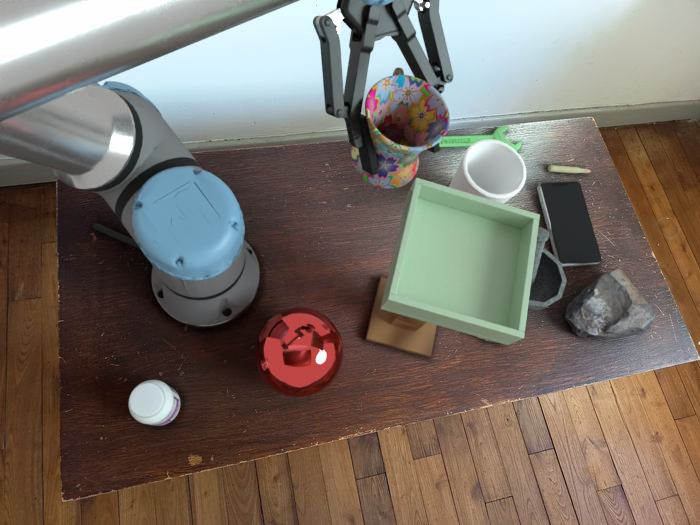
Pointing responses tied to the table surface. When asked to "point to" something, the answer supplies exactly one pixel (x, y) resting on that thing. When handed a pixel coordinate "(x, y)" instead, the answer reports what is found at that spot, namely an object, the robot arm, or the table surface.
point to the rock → (610, 309)
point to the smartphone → (569, 223)
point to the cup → (490, 171)
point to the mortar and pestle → (545, 276)
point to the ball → (298, 352)
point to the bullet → (567, 169)
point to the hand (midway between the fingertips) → (401, 160)
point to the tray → (463, 263)
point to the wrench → (477, 139)
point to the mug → (401, 127)
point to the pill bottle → (154, 403)
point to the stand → (399, 328)
